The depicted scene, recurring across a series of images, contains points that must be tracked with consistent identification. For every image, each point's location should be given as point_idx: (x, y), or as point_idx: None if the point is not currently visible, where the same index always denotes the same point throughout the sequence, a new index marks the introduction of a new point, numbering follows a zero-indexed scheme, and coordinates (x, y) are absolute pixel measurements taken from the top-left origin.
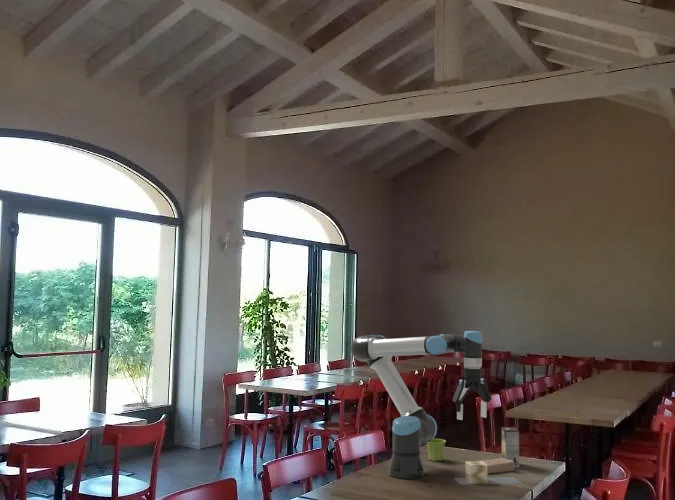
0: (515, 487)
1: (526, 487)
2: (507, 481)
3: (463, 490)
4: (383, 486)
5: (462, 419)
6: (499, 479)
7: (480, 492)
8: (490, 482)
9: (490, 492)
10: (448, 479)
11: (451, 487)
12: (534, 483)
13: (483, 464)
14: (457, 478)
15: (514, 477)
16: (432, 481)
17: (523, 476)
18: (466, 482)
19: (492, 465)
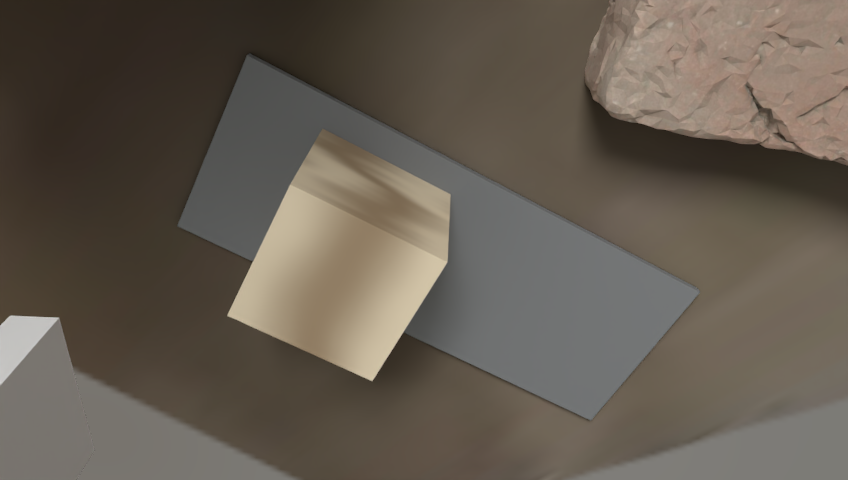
0: (483, 435)
1: (541, 467)
2: (541, 347)
3: (126, 313)
4: None
5: (83, 458)
6: (540, 285)
7: (201, 394)
8: None
9: (259, 423)
10: (200, 33)
11: (88, 221)
12: (670, 442)
13: (358, 352)
14: (266, 84)
15: (684, 308)
16: (31, 5)
17: (796, 300)
18: (254, 211)
19: (700, 136)
